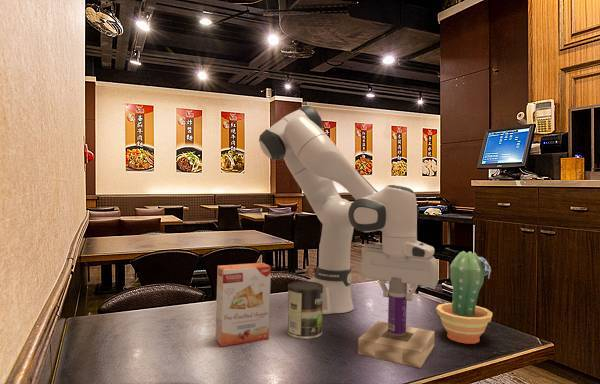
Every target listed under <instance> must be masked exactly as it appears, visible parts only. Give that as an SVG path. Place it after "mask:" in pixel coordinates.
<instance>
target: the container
mask: <svg viewBox="0 0 600 384" xmlns="http://www.w3.org/2000/svg"><path fill="white" fill-rule="evenodd" d="M388 283H389V285H388V290H389V297H388V303H387V304H388V311H387V315H388V317H387V323H388V333H389V334H391V335H395V336H403V335H405V334H406V326H407V306H408V304H407V302H408V301H407V300H406V293H408V292H407V291H408V284H406V283H402V279H401V278H393V277H391V281H388Z"/></svg>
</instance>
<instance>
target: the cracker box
mask: <svg viewBox="0 0 600 384" xmlns="http://www.w3.org/2000/svg"><path fill="white" fill-rule="evenodd" d="M216 273H217V276H216V277H217V278H216V306H215V307H216V308H215V309H216V311H215V313H216V316H215V318H216V319H215V340H216V341H217V343H218V344H219V346H220V347H226V346H231V345H232V346H233V345H238V344H244V343H252V342H257V341H262V340H264V341H265V340H269V337H270V335H269V334H270V313H271V311H270V310H271V307H270V306H271V278H272V277H271V276H272V265H271V266H270V265H269V264H266V263H265V262H254V263H238V264H227V265H226V264H225V265H224V264H223V265H217V271H216Z"/></svg>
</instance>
